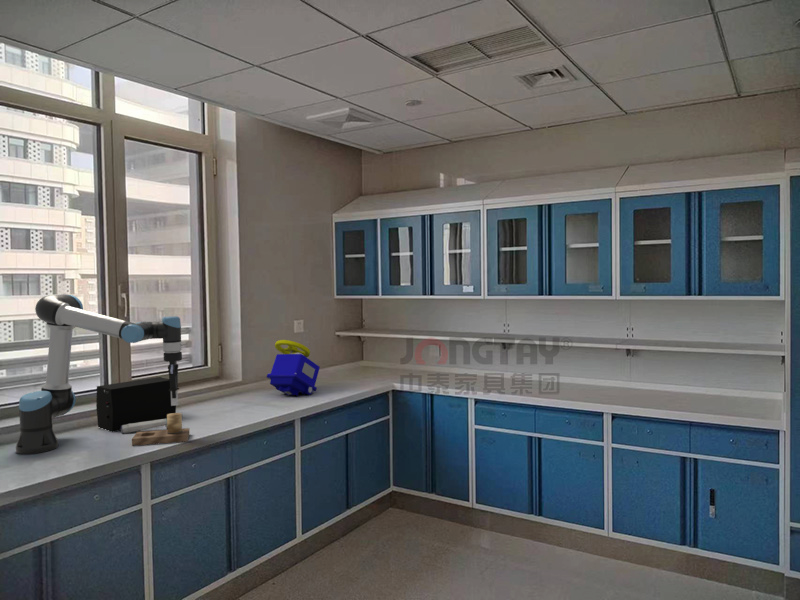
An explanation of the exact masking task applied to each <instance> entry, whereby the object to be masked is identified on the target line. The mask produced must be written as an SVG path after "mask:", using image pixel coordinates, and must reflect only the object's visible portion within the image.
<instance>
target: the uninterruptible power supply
mask: <svg viewBox="0 0 800 600" xmlns="http://www.w3.org/2000/svg"><path fill="white" fill-rule="evenodd" d="M169 390H170V382H169V378H166V377H165V378H164V377H162V376H156V377H149V378H143V379H137V380H130V381H129V380H128V381H123V382H117V383H110V384H102V385H96V406H95V408H96V419H97V427H100V428H99V429H101V428H103V429H102V430H105V429H106V430H105V431H108V430H109V431H108V432H111V431H112V433H113V431H114V432H118V431H117V430H119V431H121V426H122V425H127V424H129V423H130V424H132V423H139V422H146V421H153V420H160V419H167V415H168V414H171V413H177V405H175V406H171V391H169Z"/></svg>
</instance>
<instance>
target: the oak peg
mask: <svg viewBox="0 0 800 600" xmlns="http://www.w3.org/2000/svg"><path fill="white" fill-rule="evenodd" d="M182 415H183V413H181V412H176V413H171V414H168V415H167V427H166V430H167V434H179V433H182V429H183V420H182V419H183V418H182V417H183V416H182Z"/></svg>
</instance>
